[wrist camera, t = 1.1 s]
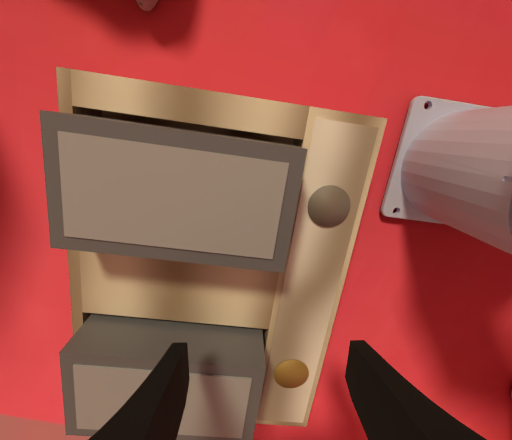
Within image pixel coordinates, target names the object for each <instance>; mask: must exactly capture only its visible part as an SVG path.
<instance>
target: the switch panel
mask: <svg viewBox="0 0 512 440" xmlns="http://www.w3.org/2000/svg"><path fill="white" fill-rule="evenodd" d="M56 72H57V88H58V104H59V112H62V113H72V114H82V115H90V116H97V117H104V118H111V119H118V120H125V121H131V122H138V123H145V124H152V125H159V126H166V127H173V128H180V129H187V130H193V131H200V132H207V133H214V134H221V135H228V136H235V137H242V138H248V139H255V140H262V141H269V142H276V143H283V144H290V145H295V146H299V147H302V148H306V149H308V150H307V155H306V160H305V166H304V171H303V176H302V182H301V187H300V192H299V197H298V203H297V208H296V213H295V219H294V224H293V229H292V234H291V240H290V245H289V250H288V255H287V261H286V266H285V271H284V273H280V272H271V271H262V270H252V269H243V268H234V267H225V266H215V265H206V264H197V263H188V262H178V261H169V260H160V259H151V258H141V257H132V256H123V255H114V254H104V253H95V252H86V251H77V250H68V263H69V279H70V295H71V311H72V326H73V336H74V334H75V333H76V332H77V331H78V330H79V328H80V327H81V326H82V325H83V324H84V322H85V321H86V320H87V319H88V318H89V316H90V315H91V314H92V313H96V314H107V315H118V316H129V317H140V318H151V319H162V320H173V321H184V322H195V323H206V324H217V325H227V326H238V327H249V328H260V329H262V331H263V342H264V353H265V364H266V372H265V377H264V382H263V387H262V393H261V398H260V403H259V409H258V414H257V419H256V424H272V425H287V426H303V427H306V426H307V422H308V418H309V415H310V411H311V407H312V403H313V399H314V396H315V392H316V388H317V384H318V380H319V377H320V373H321V369H322V365H323V361H324V358H325V354H326V350H327V346H328V342H329V339H330V335H331V331H332V327H333V323H334V320H335V316H336V312H337V308H338V304H339V301H340V297H341V293H342V289H343V285H344V282H345V278H346V274H347V270H348V266H349V263H350V259H351V255H352V251H353V247H354V244H355V240H356V236H357V232H358V228H359V224H360V221H361V217H362V213H363V209H364V205H365V202H366V198H367V194H368V190H369V186H370V183H371V179H372V175H373V171H374V167H375V164H376V160H377V156H378V152H379V148H380V145H381V141H382V137H383V133H384V129H385V126H386V122H387V119H386V118H380V117H374V116H367V115H361V114H355V113H348V112H342V111H335V110H329V109H323V108H316V107H310V106H304V105H297V104H291V103H285V102H278V101H272V100H265V99H259V98H253V97H246V96H240V95H234V94H227V93H221V92H215V91H208V90H202V89H196V88H189V87H183V86H176V85H170V84H164V83H157V82H151V81H145V80H138V79H132V78H126V77H119V76H113V75H106V74H100V73H94V72H87V71H81V70H75V69H68V68H62V67H56Z"/></svg>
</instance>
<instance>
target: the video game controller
mask: <svg viewBox="0 0 512 440" xmlns="http://www.w3.org/2000/svg"><path fill="white" fill-rule="evenodd" d="M136 2H137V4H138V6H139V7H140V9H142V10H143V11H146V12H147V11H150V10H151V9H153V8H154V7H155V5H156V4H157V3H158V0H136Z"/></svg>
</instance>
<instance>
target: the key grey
mask: <svg viewBox="0 0 512 440" xmlns="http://www.w3.org/2000/svg"><path fill="white" fill-rule="evenodd" d="M40 122H41V134H42V146H43V159H44V171H45V183H46V195H47V207H48V220H49V232H50V244H51V248H58V249H67V250H77V251H86V252H95V253H104V254H114V255H123V256H132V257H141V258H151V259H160V260H169V261H178V262H188V263H197V264H206V265H215V266H225V267H234V268H243V269H252V270H262V271H271V272H280V273H284V271H285V266H286V261H287V255H288V250H289V245H290V240H291V234H292V229H293V224H294V219H295V213H296V208H297V203H298V197H299V192H300V187H301V182H302V176H303V171H304V166H305V160H306V155H307V150H308V149H306V148H302V147H299V146H295V145H290V144H283V143H276V142H269V141H262V140H255V139H248V138H242V137H235V136H228V135H221V134H214V133H207V132H200V131H193V130H187V129H180V128H173V127H166V126H159V125H152V124H145V123H138V122H131V121H125V120H118V119H111V118H104V117H97V116H90V115H82V114H72V113H62V112H53V111H43V110H40Z"/></svg>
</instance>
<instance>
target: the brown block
mask: <svg viewBox="0 0 512 440" xmlns="http://www.w3.org/2000/svg"><path fill="white" fill-rule="evenodd" d="M180 342H187V347H188V362H189V377H190V380H189V387H188V393H187V399H186V405H185V409H184V413H183V416H182V420H181V424H180V428H179V431H178V435H177V439H176V440H253V435H254V430H255V424H256V419H257V414H258V409H259V403H260V398H261V393H262V387H263V382H264V377H265V372H266V364H265V353H264V342H263V331H262V329H260V328H249V327H238V326H227V325H217V324H206V323H195V322H184V321H173V320H162V319H151V318H140V317H129V316H118V315H107V314H96V313H92V314H91V315H90V316H89V318H88V319H87V320H86V321H85V322H84V324H83V325H82V326H81V327H80V328H79V330H78V331H77V332H76V333H75V334H74V336H73V337H72V338H71V339H70V340H69V342H68V343H67V344H66V345H65V346H64V348H63V349H62V350H61V351H60V352H59V354H60V366H61V378H62V391H63V403H64V415H65V427H66V435H78V436H93V435H94V434H95V433H96V432H97V431H98V430H99V429H100V428H101V427H102V426H103V425H104V424H105V423H106V422H107V421H108V420H109V419H110V418H111V417H112V416H113V415H114V414H115V413H116V412H117V411H118V410H119V409H120V408H121V407H122V406H123V405H124V404H125V403H126V401H127V400H128V399H129V398H130V397H131V396H132V395H133V393H134V392H135V391H136V390H137V389H138V388H139V386H140V385H141V384H142V383H143V382H144V380H145V379H146V378H147V376H148V375H149V374H150V373H151V371H152V370H153V369H154V367H155V366H156V365H157V363H158V362H159V361H160V359H161V358H162V357H163V355H164V354H165V352H166V351H167V349H168V348H169V346H170V345H171V344H172V343H180Z"/></svg>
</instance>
